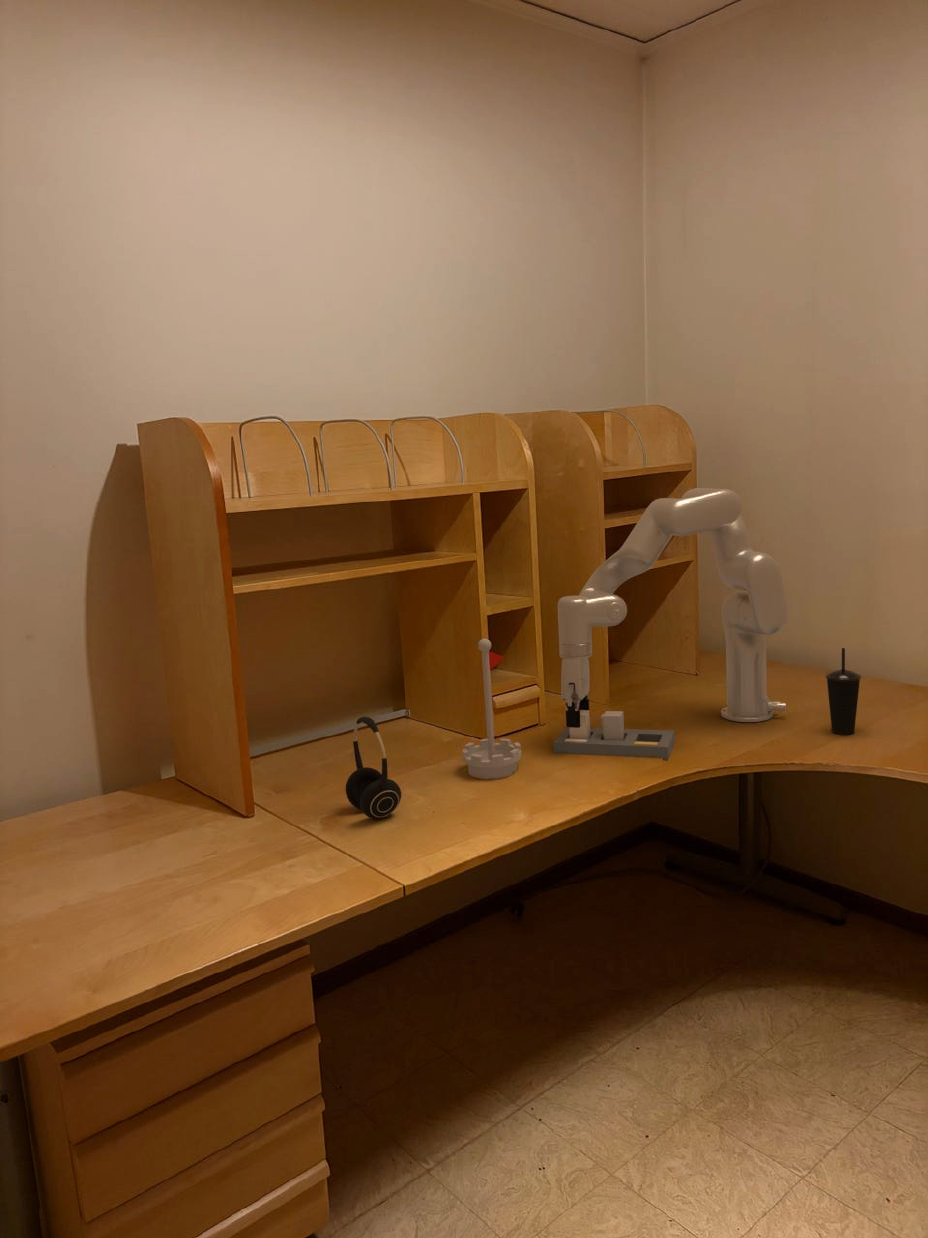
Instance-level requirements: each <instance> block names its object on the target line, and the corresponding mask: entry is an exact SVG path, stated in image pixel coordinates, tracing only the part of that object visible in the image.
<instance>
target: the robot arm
mask: <svg viewBox="0 0 928 1238" xmlns="http://www.w3.org/2000/svg"><path fill="white" fill-rule="evenodd" d="M742 507H743V504H742V500H741V498H740V496H739V495H738V493H736V492H735V491H733V490H731V489H728V488H711V487H697V488H695V487H694V488H691V489H688V490H687V491H686V492H685V493H683V494H682V497H681V498H671V497H663V498H662V497H661V498H657V499H654V500H653V501H652V502H651V503H649V505H648V506H647V507H646V509H645V510H644V512H643V513H642V515H641V517H640V518H639V520H637V523H636V524H635V526H634V527H633V529H632V531H630V534H629V535H628V537H627V538H626V540H625V541H624V542H623V545H621V547H619V550H617V551H616V552H615V553H613V554H612V555H611V556H610V557H609V558H607V559H606V560H605V561H604V562H603V563H602V564H600V565H599V567H597V568H596V569H595V570H594V572H593V573H592V574H591V575H590V577H589V579H588V580H587V582H585V584H584V586H583V587H582V589H581V591H580V592H579V595H565V596H563V597H561V598H559V599H558V602H557V620H558V621H557V622H558V626H557V627H558V647H559V648H558V649H559V651H558V652H559V657H560V658H561V659H562V660H561V678H560V681H561V682H560V685H561V687H560V688H561V689H560V691H561V692H560V695H561V697H560V698H561V699H562V701H566V702H565V725H566V726H565V727H572V728H579V727H580V710H589V711H590V699H589V696H590V695H589V692H590V683H591V682H590V681H591V680H590V677H591V676H590V664H589V663H590V661H589V658H591V657H593V641H592V640H593V639H592V637H593V636H592V628H593V627H614V626H615V627H616V625H619V624H620V623H622V622H623V621H624V620H625V618H626V617H627V613H628V607H627V604H626V602H625V601H624V599H623V598H622V597H620V596H619V595H617V594H614V593H615V591H616V590H617V589H618V588H619V587H620V586H621V585H622V584H623V583H625V582H626V581H628V580H630V579H631V578H633V577H636V576H639V575H641V574H643V573H645V572H647V571H649V570H651V568H653V567H654V565H655V564H656V562H657V560H658V559H659V557H660V555H661V554H662V552H664V549H665V547H666V546H667V545H668V544H669V542H670V540H671V538H672V537H673V536H676V537H687V536H692V535H699V534H702V533H705V532H706V533H707V532H708V535H709V536H710V539H711V541H712V545H713V549H714V555H715V559H716V560H715V561H716V565H717V570H718V574H719V578H720V580H721V582H722V584H724V585H725V586H726V587H729V588H732V589H736V590H738V591H734V592H731V593H730V594H729V595H727V597H725V599H724V601H723V603H722V605H721V611H720V612H721V613H720V614H721V620H722V625H723V630H724V634H725V637H724V638H725V649H726V650H725V651H726V652H725V654H726V655H725V658H726V662H725V665H726V667H725V668H726V704H727V705H726V706H725V707H723V708H722V709H720V716H721V717H722V718H723V719H725V720H729V721H733V722H740V723H757V722H764V721H767V720H768V721H769V720H770V719H772V718H773V717H774V711H779V712H785V711H786V709H787V708H786V707H787V706H786V702H782V701H777V700H775V701H771V700H770V699H769V695H767V645H766V639H765V636H775V635H777V634H779V633H780V632H782V630H783V629H784V628H785V627H786V625H787V622H788V617H789V616H788V615H789V613H788V612H789V611H788V609H789V608H788V602H787V598H786V593H785V588H784V586H785V585H784V582H783V576H782V572H781V568H780V566H779V564H778V562H777V561H776V559H774V558H773V557H772V556H771V555H770V554H768V553H765V552H761V551H754V549H753V547H752V544H751V540H750V537H749V533H748V529H747V526H746V523H745V521H744V519H743V517H742V516H741V514H742V513H741V512H742Z"/></svg>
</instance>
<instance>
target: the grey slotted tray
mask: <svg viewBox="0 0 928 1238" xmlns="http://www.w3.org/2000/svg"><path fill="white" fill-rule="evenodd" d="M624 717H625V716H624V711H616V710H615V711H614V710H605V712H604V713H602V714H601V716H600V726H602V727H590V737H591V738H590V739H570V730H569V727H567V726H564V728H563V729H562V730H561V732H560V733H559V734H558V735H557V737H556V738H555V739H554V740H553V742H552V743H553V744H552V745H553V754H571V755H591V756H592V755H594V756H595V755H596V756H611V757H612V756H615V757H632V758H633V757H636V758H657V759H659V758H660V759H662V761H669V759H670V757H671V753H672V751H673V749H674V746H675V744H674V743H675V741H676V738H675V730H668V729H667V730H663V729H661V730H659V729H635V728H633V729H632V728H625V720H624Z"/></svg>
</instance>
